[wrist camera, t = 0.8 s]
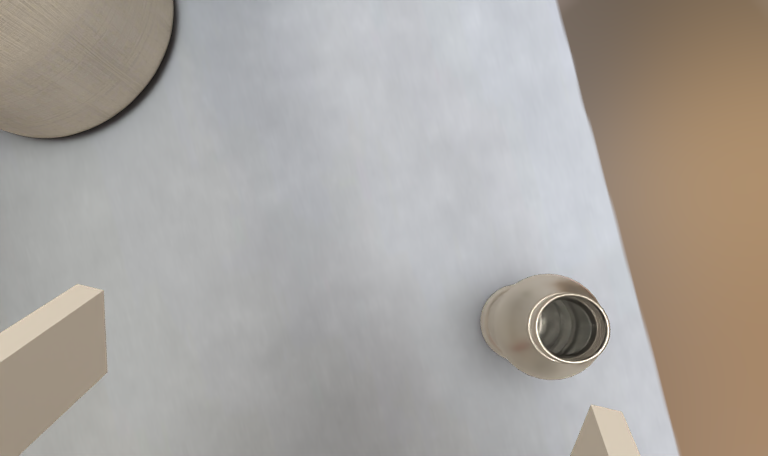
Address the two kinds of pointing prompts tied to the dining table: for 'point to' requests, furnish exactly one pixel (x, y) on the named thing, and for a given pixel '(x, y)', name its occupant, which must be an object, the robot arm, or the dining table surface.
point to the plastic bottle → (546, 326)
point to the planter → (76, 61)
